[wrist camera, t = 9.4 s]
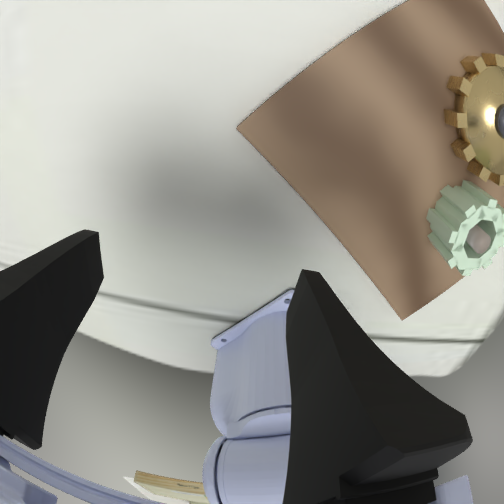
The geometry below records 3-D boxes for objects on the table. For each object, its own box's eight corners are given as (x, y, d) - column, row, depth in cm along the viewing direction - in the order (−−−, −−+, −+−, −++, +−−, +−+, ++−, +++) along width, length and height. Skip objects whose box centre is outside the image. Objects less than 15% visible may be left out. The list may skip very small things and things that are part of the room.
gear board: (398, 312, 23) (415, 352, 19) (237, 125, 16) (228, 140, 12) (547, 188, 15) (578, 210, 12) (457, -25, 8) (495, -37, 4)
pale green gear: (441, 263, 19) (459, 289, 16) (413, 211, 17) (435, 236, 14) (491, 221, 17) (513, 243, 14) (470, 164, 15) (498, 182, 12)
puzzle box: (135, 468, 64) (155, 484, 77) (132, 481, 60) (153, 494, 73) (257, 485, 63) (254, 496, 76) (256, 498, 59) (253, 507, 72)
